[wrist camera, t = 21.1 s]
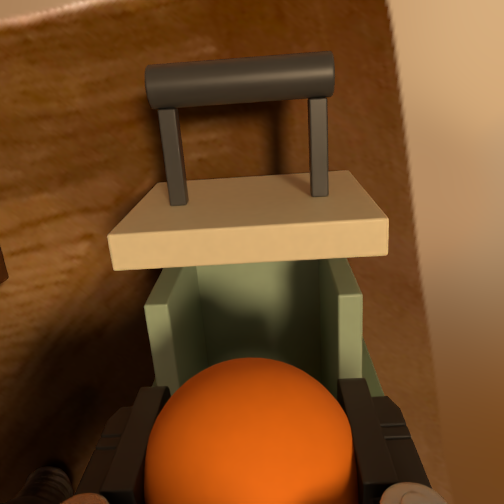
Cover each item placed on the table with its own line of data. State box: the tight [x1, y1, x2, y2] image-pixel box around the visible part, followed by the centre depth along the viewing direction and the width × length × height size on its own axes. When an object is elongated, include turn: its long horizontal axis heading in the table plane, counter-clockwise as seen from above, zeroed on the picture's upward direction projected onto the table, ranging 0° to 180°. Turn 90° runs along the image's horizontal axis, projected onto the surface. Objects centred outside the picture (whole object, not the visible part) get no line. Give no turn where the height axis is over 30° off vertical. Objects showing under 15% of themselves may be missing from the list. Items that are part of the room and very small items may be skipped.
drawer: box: [107, 51, 389, 400], centre depth 19 cm, size 17×8×7 cm, turn 4°
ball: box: [144, 358, 358, 504], centre depth 11 cm, size 5×5×5 cm
